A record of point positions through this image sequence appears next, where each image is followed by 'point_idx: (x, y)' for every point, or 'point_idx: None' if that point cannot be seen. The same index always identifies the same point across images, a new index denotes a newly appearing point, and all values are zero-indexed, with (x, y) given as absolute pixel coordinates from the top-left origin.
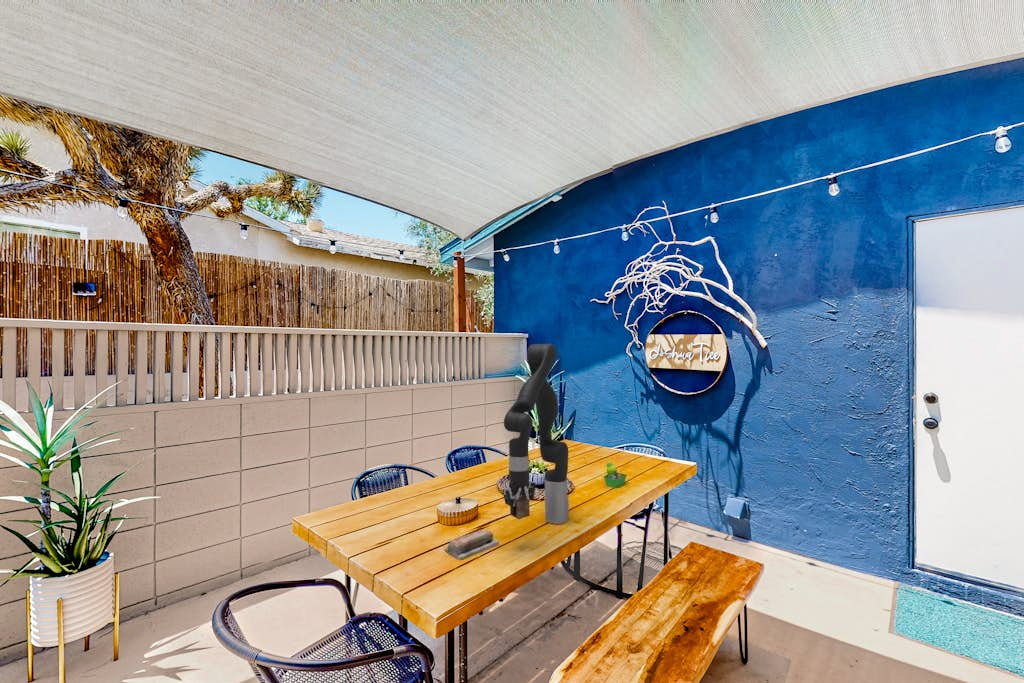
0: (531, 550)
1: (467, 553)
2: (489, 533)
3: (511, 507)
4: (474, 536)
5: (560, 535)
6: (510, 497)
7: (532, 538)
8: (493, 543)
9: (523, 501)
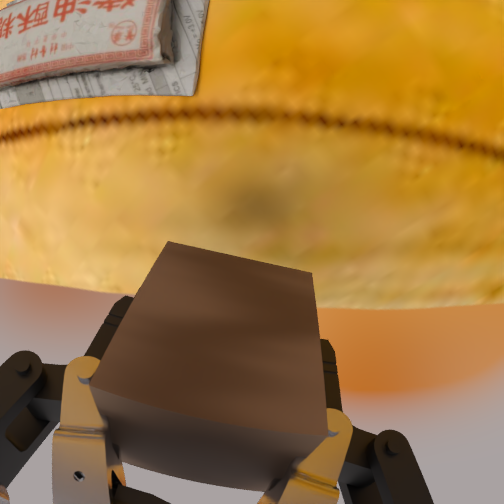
0: (258, 256)
1: (25, 95)
2: (133, 57)
3: (97, 356)
4: (54, 43)
5: (448, 270)
6: (20, 469)
7: (368, 190)
8: (150, 93)
9: (187, 477)
